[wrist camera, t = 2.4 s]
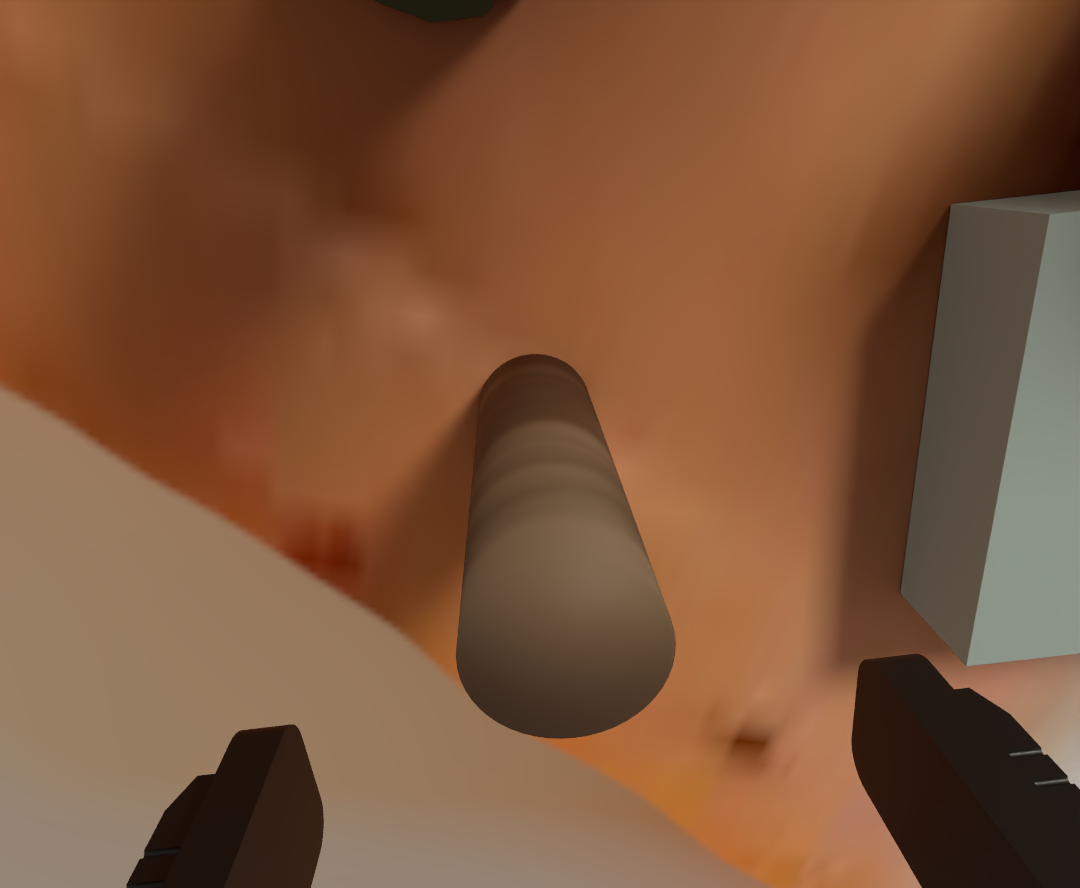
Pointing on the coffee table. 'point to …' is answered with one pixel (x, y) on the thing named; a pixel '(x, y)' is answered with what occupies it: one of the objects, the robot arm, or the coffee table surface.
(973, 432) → the socket
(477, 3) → the character mug
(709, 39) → the coffee table surface
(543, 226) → the coffee table surface
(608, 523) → the peg
